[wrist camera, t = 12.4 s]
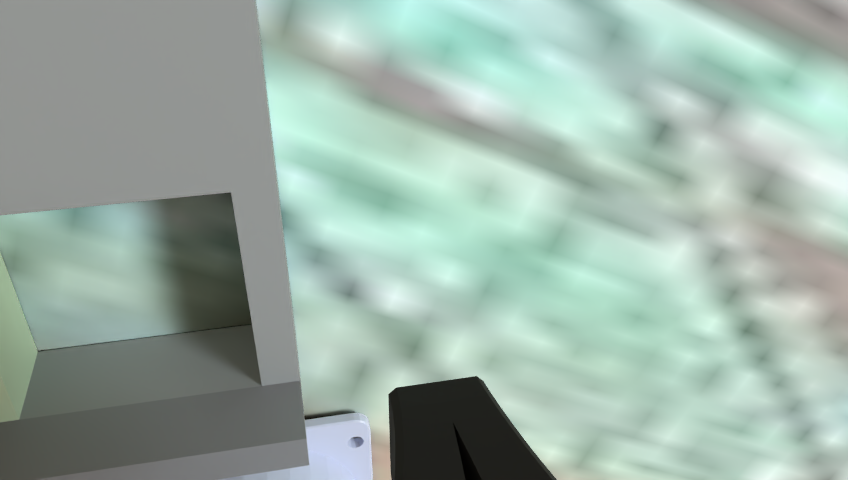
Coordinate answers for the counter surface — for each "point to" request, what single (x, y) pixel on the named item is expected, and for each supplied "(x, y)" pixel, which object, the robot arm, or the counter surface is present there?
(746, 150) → the counter surface
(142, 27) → the grey shallow tray piece
